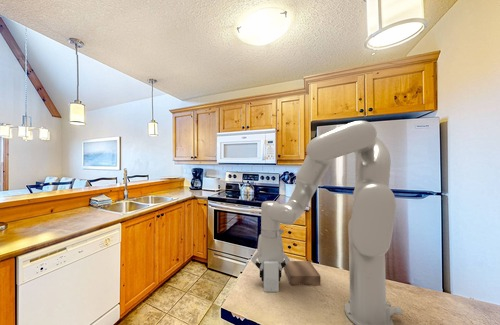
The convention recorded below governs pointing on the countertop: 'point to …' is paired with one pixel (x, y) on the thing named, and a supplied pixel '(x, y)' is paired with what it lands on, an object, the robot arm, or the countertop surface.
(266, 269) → the small box
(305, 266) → the walnut block
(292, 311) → the countertop surface
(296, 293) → the countertop surface
